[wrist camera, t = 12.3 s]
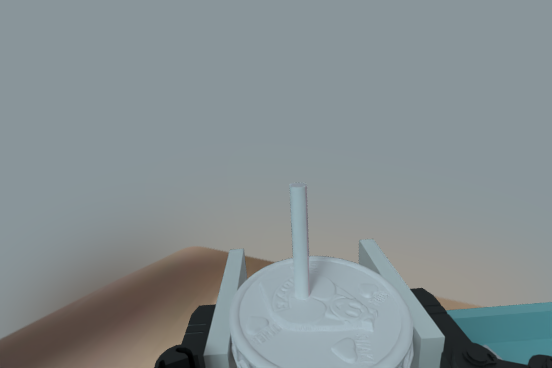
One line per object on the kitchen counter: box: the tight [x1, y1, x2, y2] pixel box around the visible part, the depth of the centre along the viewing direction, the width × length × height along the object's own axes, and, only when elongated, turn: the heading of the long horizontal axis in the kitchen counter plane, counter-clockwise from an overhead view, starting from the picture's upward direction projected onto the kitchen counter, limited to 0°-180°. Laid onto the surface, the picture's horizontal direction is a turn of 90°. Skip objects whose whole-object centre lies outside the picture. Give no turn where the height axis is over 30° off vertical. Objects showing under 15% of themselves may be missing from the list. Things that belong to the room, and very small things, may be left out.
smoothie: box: [229, 182, 414, 368], centre depth 11 cm, size 6×6×14 cm
